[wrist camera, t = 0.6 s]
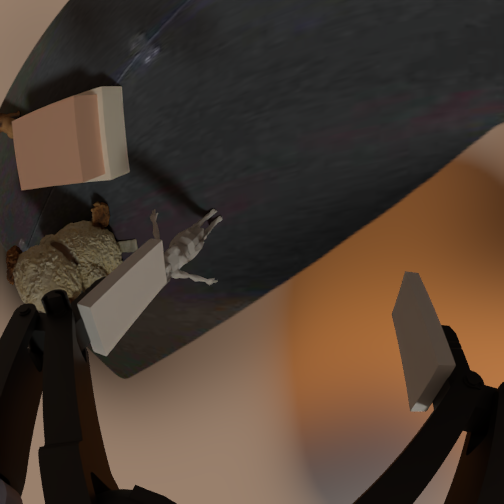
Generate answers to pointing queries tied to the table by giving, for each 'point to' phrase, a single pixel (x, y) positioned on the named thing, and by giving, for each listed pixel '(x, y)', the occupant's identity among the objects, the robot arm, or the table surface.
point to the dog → (67, 259)
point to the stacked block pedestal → (72, 140)
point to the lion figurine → (7, 123)
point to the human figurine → (185, 247)
